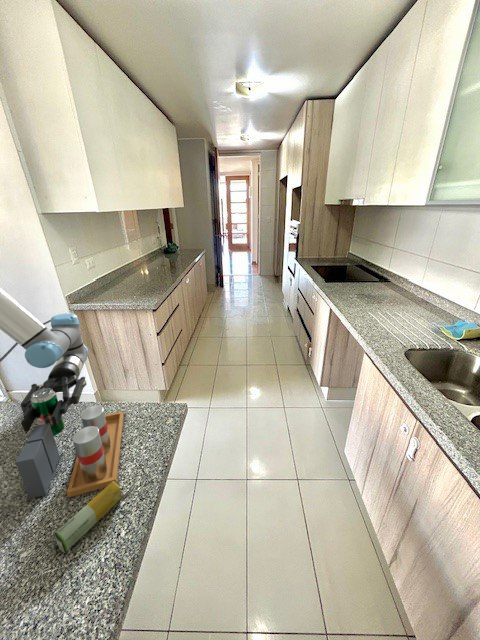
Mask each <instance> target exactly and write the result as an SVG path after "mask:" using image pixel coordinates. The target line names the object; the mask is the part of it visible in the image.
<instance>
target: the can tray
mask: <svg viewBox="0 0 480 640" xmlns="http://www.w3.org/2000/svg"><path fill="white" fill-rule="evenodd" d="M124 416H125V415H124V411H118V412H112V413H108V414H105V419H106V422H107V427H108V432H109V437H110V442H111V449H110V450H109V451H108V452H107V453H106V454H105V459H106V463H107V468H108V471H107V474H106V476H105V477H104V478H103V479H102V480H100V481H97V482H93V483H86V482H85V481H84V478H83V474H82V471H81V467H80V463H79V461H78V457H77V456H76V458H75V462H74V465H73V468H72V473H71V476H70V480H69V483H68V487H67V490H66V495H67V498H71V497H75V496H79V495H82V494H86V493H91V492H93V491H97V490H100V489H105V488H106V487H107V486H108V485H109V484H110V483H111V482H113V481H114V482H115V483H117V484H118V475H119V465H120V464H119V463H120V454H121V445H122V435H123V427H124V426H123V425H124Z"/></svg>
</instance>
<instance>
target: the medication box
mask: <svg viewBox="0 0 480 640" xmlns="http://www.w3.org/2000/svg"><path fill="white" fill-rule="evenodd" d="M122 498H123V496H122V490H121V486H120V485H119V484H118V482H117V483H115V482H114V481H113V482H111V483H110V484H109V485H108V486H107V487H104V488H103V489H102V490H101V491H100V492H99V493H98V494H97V495H95V496H94V497H93V498H92V499H91V500H90V501H89V502H88V503H87V504H85V506H83V507H82V508H81V509H80V510H79V511H78V512H77V513H75V514H74V515H73V516H72V517H71V518H70V519H69V520H68V521H67V522H65V523H64V524H63V525H62V526H61V527H60V528H59V529H58V530H57V531H55V532H54V533H53V537H54V538H55V542H56V545H57V547H58V549H59V550H60V551H61V552H62V553H64V554H65V553H66V552H68V551H69V550H70V549H71V548H72V547H73V546H74V545H75V544H76V543H77V542H78V541H79V540H80V539H81V538H82V537H83V536H84V535H85V534H86V533H87V532H88V531H89V530H90V529H92V528H93V527H94V525H96V523H98V522H99V521H100V520H101V519H102V518H103V517H104V516H105V515H106V514H107V513H108V512H109V511H110V510H112V508H113V507H114V506H115V505H116V504H118V502H119V501H120V500H121V499H122Z"/></svg>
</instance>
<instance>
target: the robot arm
mask: <svg viewBox="0 0 480 640" xmlns="http://www.w3.org/2000/svg"><path fill="white" fill-rule="evenodd" d="M49 323H50V326H51V328H50V329H49V328H48V327H46V325H47V324H49ZM80 325H81V324H80V321H79V318H78V316H77V315H76V314H75V313H72V312H71V313H69V312H67V313H60V314H56V315H53V316H52V317H51V318H50V319H49V320H47V321H45V322H43V323H42V321H40V320H39V319H37V317H35V316H34V315H33V314H32V313H31V312H30V311H28V310H27V309H26V308H25V307H24V306H22V305H21V304H20V303H19V302H18V301H17V300H16V299H14V298H13V297H12V296H11V295H9V293H7V292H6V291H5V290H4V289H3V288H1V287H0V331H1V332H3V333H4V334H5V335H6V336H8V337H9V338H10V339H12V340H13V341H14V342H15V343H14V344H13V345H12V346H11V347H10V349H8V350H7V351H6V353H4V355H3V356H1V358H0V363H1V362H2V361H3V360H4V359H6V357H7V356H8V355H9V354H10V353H12V351H13V350H14V349H15V347H17V346H18V345H19V346H21V347H22V348H23V349H24V350H25V352H24V359H25V360H26V362H27V364H29V365H30V366H31V367H35V368H37V369H46V368H49V367H51V366H53V368H52V369H51V370H50V373H48V376H47V379H46V380H44V381H43V383H41V384H37V383H32V384H31V385H30V390H29V391H28V392H27V394H26V395H25V397H24V398H23V399H22V401H21V402H20V408H21V412H22V413H23V415H22V417H23V419H22V421H21V426H22V429H23V432H24V433H27V432H29V431H30V429H31V428H32V426H33V424H34V422H35V420H36V416H35V413H34V410H33V407H32V404H31V398H32V394H33V393H34V392H36V391H38V390H40V389H44V388H51V389H53V391H54V392H56V394H57V393H62V399H58V404H57V406H56V408H55V410H54V412H53V414H52V416H51V419H52V423H53V426H57V425H58V423H59V420H60V418H61V416H62V417H63V415H65V414H66V413H67V412H68V409H69V407H70V406H71V405H77V404H79V402H80V399H81V396H82V393H83V391H84V388H85V387H86V386H87V385H88V384H87V379H86V376H81V377H80V375H81V373H82V370H83V367H84V365H85V363H86V361H87V360H88V357H89V349H88V347H87V346H86V345H85V344H84V341H83V335H82V331H81V326H80ZM73 387H74V388H73ZM72 388H73V391H72V394H71V396H70V389H72Z"/></svg>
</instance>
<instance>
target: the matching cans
mask: <svg viewBox="0 0 480 640" xmlns="http://www.w3.org/2000/svg"><path fill="white" fill-rule="evenodd" d="M105 415H106V414H105V411H104V407H103V406H102V405H91V406H89V407H86V408H85V409H84V410H82V411H81V413H80V420H81V424H82V428H81V429H79V430H77V431H76V432H75V433H74V434H73V437H72V441H73V446H74V450H75V453H76V458H77V457H78V461H79V463H80V467H81V471H82V474H83V478H84V481H85V482H86V483H93V482H97V481H100V480H102V479H103V478H104V477H105V476H106V474H107V471H108V468H107V463H106V459H105V454H106V453H107V452H108V451H109V450H110V449H111V442H110V437H109V432H108V427H107V422H106V419H105Z"/></svg>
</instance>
